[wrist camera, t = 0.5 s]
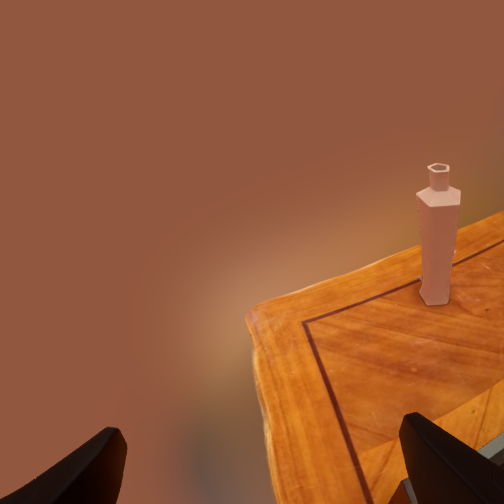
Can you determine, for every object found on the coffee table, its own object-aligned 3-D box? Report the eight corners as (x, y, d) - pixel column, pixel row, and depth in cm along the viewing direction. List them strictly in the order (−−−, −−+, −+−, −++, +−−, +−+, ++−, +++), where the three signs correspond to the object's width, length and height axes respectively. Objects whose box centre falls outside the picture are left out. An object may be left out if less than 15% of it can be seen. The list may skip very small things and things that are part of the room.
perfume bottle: (461, 301, 29) (473, 172, 21) (428, 313, 30) (433, 181, 22) (444, 276, 33) (446, 155, 25) (412, 286, 33) (409, 163, 26)
